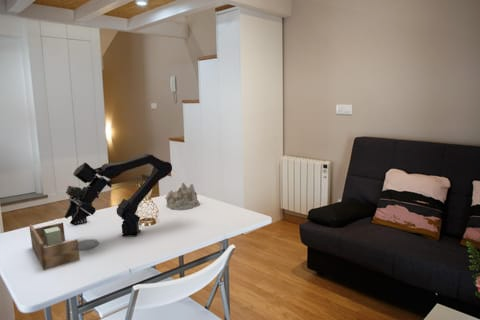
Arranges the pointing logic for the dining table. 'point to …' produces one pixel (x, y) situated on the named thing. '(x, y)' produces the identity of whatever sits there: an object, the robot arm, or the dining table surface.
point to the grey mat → (87, 244)
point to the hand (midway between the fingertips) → (68, 220)
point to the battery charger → (80, 220)
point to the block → (52, 236)
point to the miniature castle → (182, 198)
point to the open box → (53, 248)
